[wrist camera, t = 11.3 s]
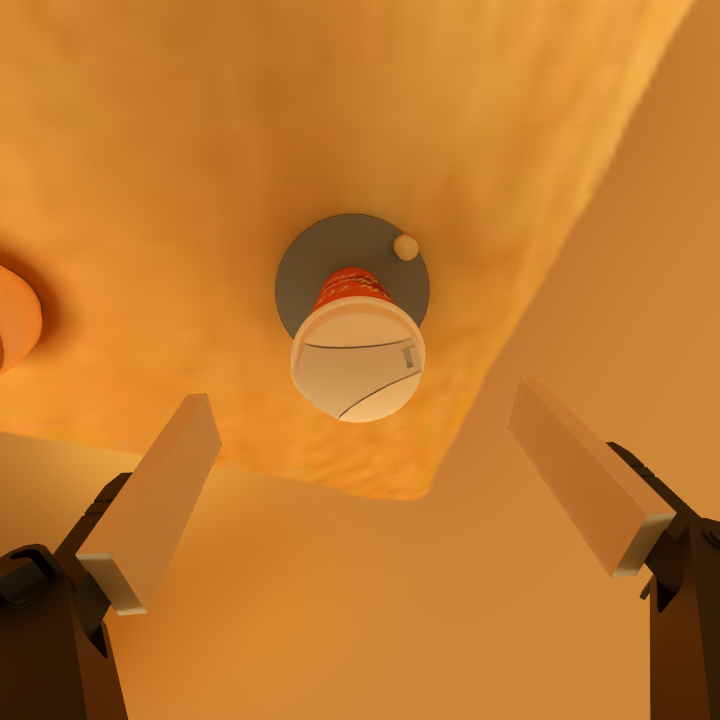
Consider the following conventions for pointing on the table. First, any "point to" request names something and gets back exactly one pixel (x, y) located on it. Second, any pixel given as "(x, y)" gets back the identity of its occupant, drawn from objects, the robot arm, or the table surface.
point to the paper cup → (357, 350)
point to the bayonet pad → (350, 265)
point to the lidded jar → (17, 319)
